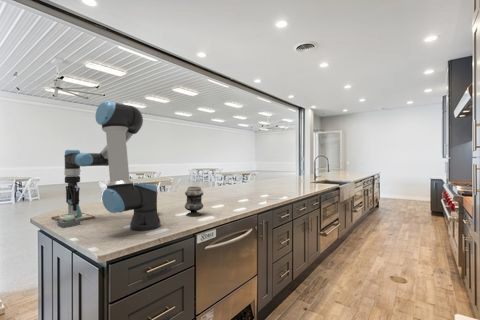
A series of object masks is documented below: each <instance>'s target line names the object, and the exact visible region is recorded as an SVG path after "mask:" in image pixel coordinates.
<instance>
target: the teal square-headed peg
mask: <svg viewBox="0 0 480 320" xmlns="http://www.w3.org/2000/svg"><path fill="white" fill-rule="evenodd" d="M68 203H69V204H71V205H72V198H71V199H68ZM68 203H67V204H68ZM81 210H82V209H81V207H80V203H79V204H77V216H74V217H75V218H78V217H81V216H82V213H83V212H82V211H81Z"/></svg>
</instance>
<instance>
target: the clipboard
mask: <svg viewBox="0 0 480 320" xmlns="http://www.w3.org/2000/svg"><path fill="white" fill-rule="evenodd" d="M81 213H82V216H81V217H78V218H76V219H79V220H80V222H81V221H87V220H92V219H96V216H95V215H92V214H88V213H85V212H81ZM66 215H68V213H66V214H60V215H56V216H51V219H52V220H54V221H60V220H64V216H66ZM74 218H75V217H74Z"/></svg>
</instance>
